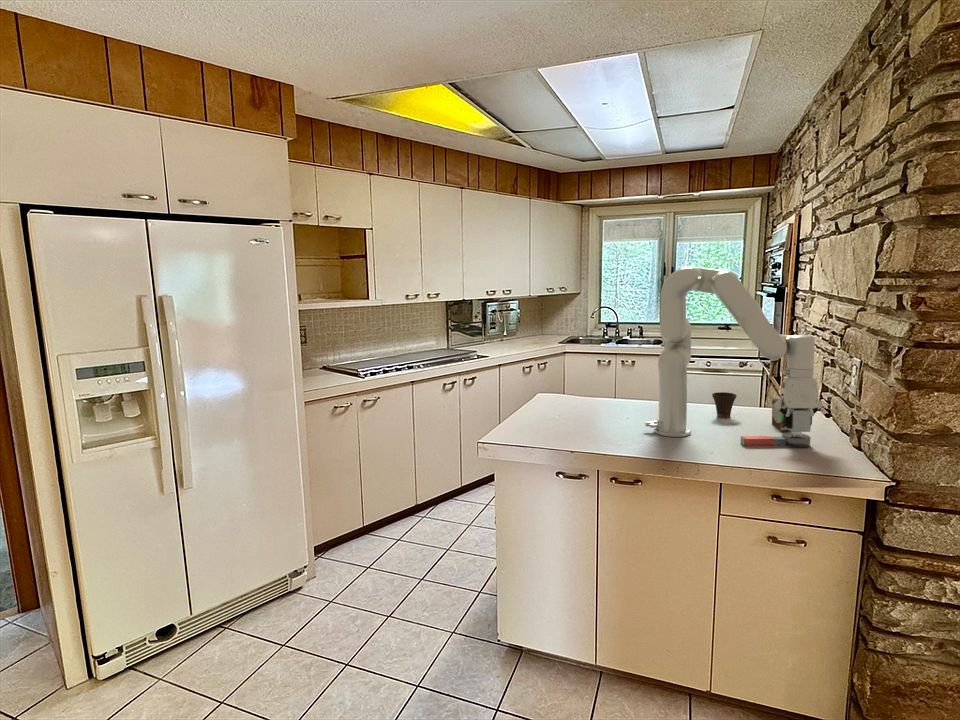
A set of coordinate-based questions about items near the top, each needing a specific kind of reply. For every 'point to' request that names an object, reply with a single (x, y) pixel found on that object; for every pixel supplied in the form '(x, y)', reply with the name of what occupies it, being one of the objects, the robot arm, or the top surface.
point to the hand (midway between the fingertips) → (797, 426)
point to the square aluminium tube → (800, 420)
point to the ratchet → (778, 440)
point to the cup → (724, 403)
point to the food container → (778, 418)
